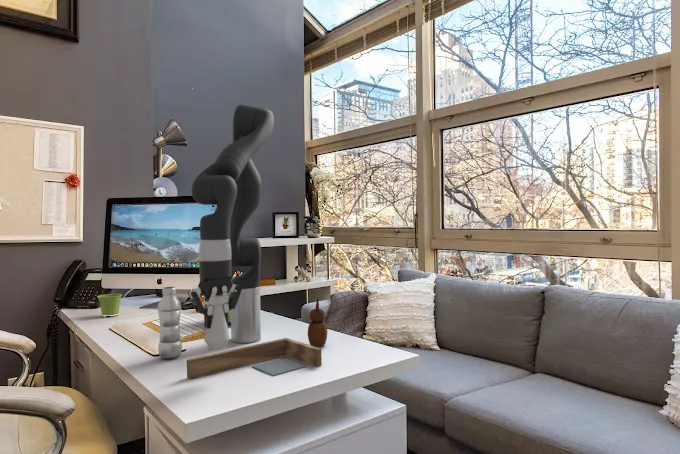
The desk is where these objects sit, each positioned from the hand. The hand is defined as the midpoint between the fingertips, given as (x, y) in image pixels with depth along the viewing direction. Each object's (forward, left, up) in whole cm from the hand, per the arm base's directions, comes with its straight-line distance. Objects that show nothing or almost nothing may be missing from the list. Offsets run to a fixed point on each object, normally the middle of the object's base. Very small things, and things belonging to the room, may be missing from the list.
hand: (216, 328), depth 112 cm
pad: (+3, +16, -13) cm, 21 cm away
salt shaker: (0, 0, -5) cm, 5 cm away
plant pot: (-103, +5, -13) cm, 104 cm away
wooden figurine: (-6, +37, -13) cm, 40 cm away
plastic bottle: (-26, -1, -13) cm, 29 cm away
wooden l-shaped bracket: (+2, +10, -13) cm, 16 cm away
